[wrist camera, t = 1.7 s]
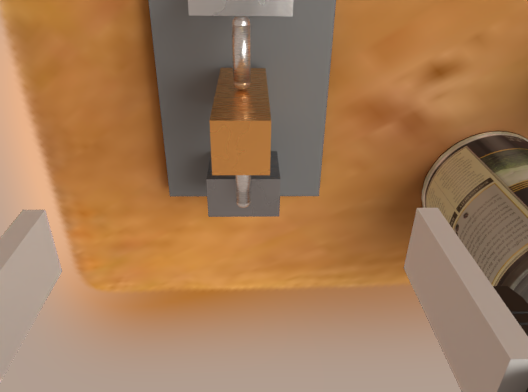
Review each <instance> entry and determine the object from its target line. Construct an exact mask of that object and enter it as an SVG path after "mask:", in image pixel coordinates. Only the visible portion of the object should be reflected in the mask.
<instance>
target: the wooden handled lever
mask: <svg viewBox="0 0 528 392" xmlns="http://www.w3.org/2000/svg"><path fill="white" fill-rule="evenodd" d="M188 10H189V16H235V17H234V18H233V20H232V49H233V68H221V69H220V74H219V78H218V83H217V88H216V92H215V97H214V102H213V106H212V111H211V115H210V120H209V122H210V142H211V161H212V175H235V183H236V203H237V205H238V206H239V207H241V208H246V207H248V206H249V205H250V203H251V175H270V157H271V113H270V104H269V95H268V86H267V77H266V68H251V24H250V20H249V18H248V17H247V16H293V0H188Z"/></svg>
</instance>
